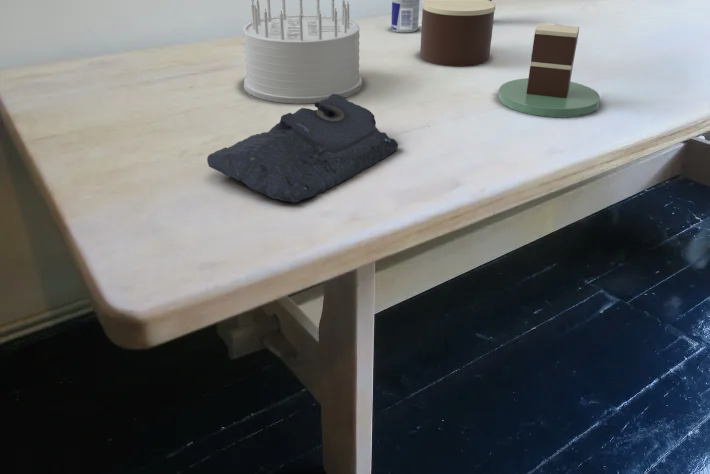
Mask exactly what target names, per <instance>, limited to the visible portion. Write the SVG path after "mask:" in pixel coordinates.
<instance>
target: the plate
mask: <svg viewBox="0 0 710 474" xmlns="http://www.w3.org/2000/svg"><path fill="white" fill-rule="evenodd" d="M528 78H529V77H528ZM528 78H518V79H513V80H510V81H507V82H505V83H503V84H501V85H500V87H499V89H498V91H499V92H498V100H499V102H500V103H501V104H503V105H504V106H505V107H507V108H509V109H511V110H514V111H517V112H520V113H524V114H529V115H533V116H538V117H539V116H540V117H548V118H571V117H581V116H585V115H586V116H587V115H588V114H589V115H590V114H591V113H594V112H595V111H597V110H598V109H599V105H600V100H601V97H600V94H599V93H598V91H596V90H595V89H593V88H592V87H589V86H587V85H584V84H581V83H578V82H574V81H570V86H569V91H568V94H567V97H566V98H559V97H550V96H542V95H533V94H527V86H528Z"/></svg>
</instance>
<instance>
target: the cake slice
mask: <svg viewBox="0 0 710 474" xmlns="http://www.w3.org/2000/svg"><path fill="white" fill-rule="evenodd" d="M579 33H580V26H575V25H563V24H552V23H540V22H539V23H538V25H537V26H536V28H535V29H534V36H533V43H532V48H531V49H532V51H531V57H530V65H529V71H528V86H527V94H533V95H542V96H550V97H559V98H566V97H567V94H568V91H569V86H570V82H571V79H572V74H573V68H574V61H575V58H576V57H575V56H576V51H577V44H578V39H579Z"/></svg>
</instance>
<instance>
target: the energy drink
mask: <svg viewBox="0 0 710 474" xmlns="http://www.w3.org/2000/svg"><path fill="white" fill-rule="evenodd" d="M419 18H420V0H391V22H390V23H391V25H390V26H391V27H390V28H391V30H392V31H393V32H397V33H403V34H404V33H407V34H408V33H414V32H417V30H419V20H420V19H419Z"/></svg>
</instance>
